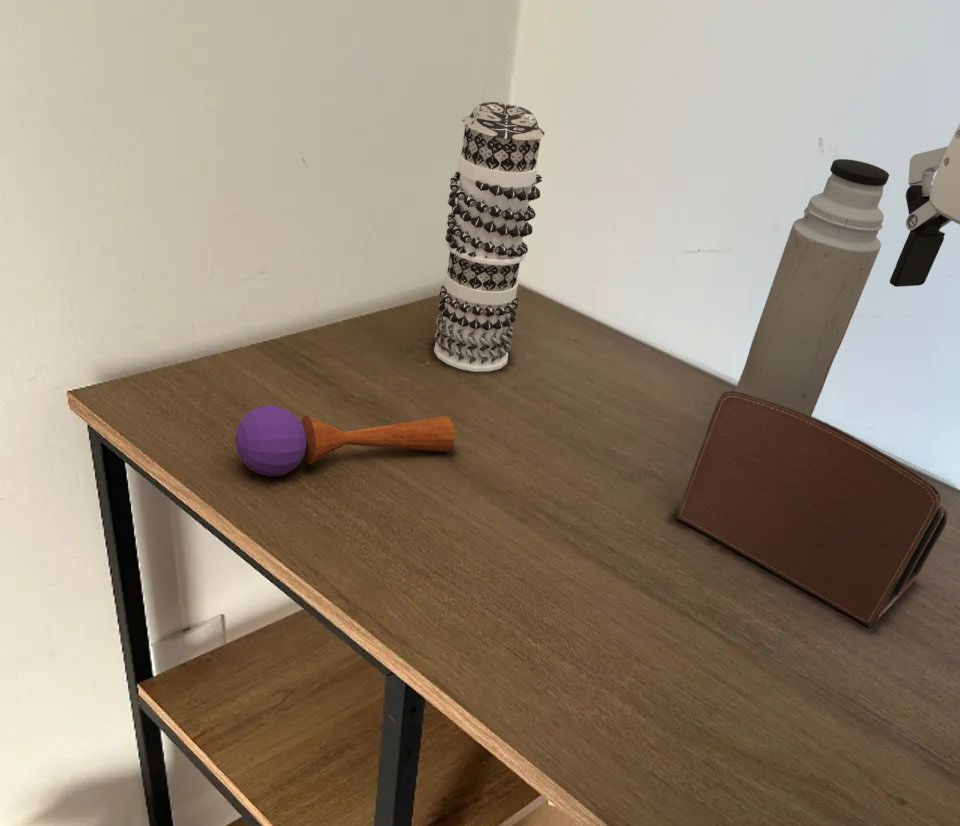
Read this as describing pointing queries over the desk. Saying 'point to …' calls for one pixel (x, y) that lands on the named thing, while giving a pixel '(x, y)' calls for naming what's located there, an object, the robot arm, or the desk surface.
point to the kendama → (325, 438)
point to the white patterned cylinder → (487, 235)
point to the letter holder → (812, 505)
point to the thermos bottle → (816, 288)
